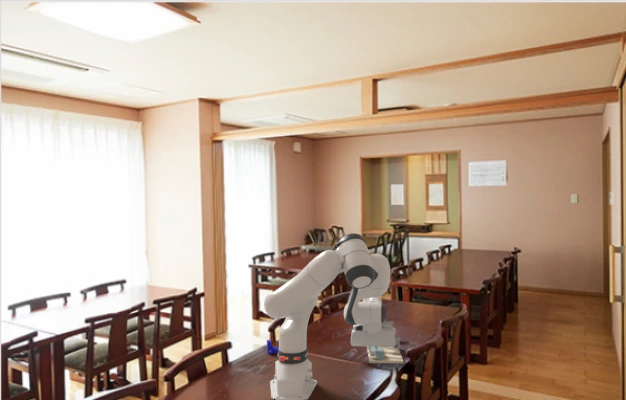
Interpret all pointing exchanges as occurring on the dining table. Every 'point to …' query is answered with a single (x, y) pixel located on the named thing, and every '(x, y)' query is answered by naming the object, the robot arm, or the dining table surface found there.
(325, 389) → the dining table surface
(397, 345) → the keeper
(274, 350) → the cable clip
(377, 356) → the link
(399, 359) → the board
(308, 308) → the robot arm
